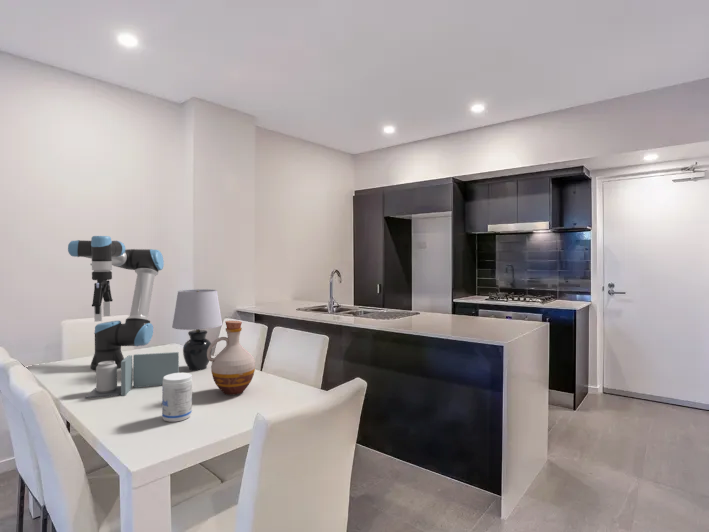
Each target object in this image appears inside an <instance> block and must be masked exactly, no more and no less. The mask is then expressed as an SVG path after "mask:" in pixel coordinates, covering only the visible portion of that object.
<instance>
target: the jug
mask: <svg viewBox="0 0 709 532" xmlns="http://www.w3.org/2000/svg"><path fill="white" fill-rule="evenodd" d="M242 323H243V321H241V320H225V326H226V328H225V332H226V336H227V337H226V336H221V337H218V338H216V339H214V340H213V341H212V342H211V344H210V346H209V348H208V350H207V358H208V360H209V362H211V364H210V365H211V367H210V371H211V375H212V379H213V381H214V384H215V385H216V387H217V388H218V389H219V390H220V391H221V392H222V393H223V394H224V395H226V396H237V395H240V394H242V393H244V391H245V390H247V388H248V387H249V385H250V384H251V382H252V380H253V377H254V374H255V370H256V360H255V357H254V356H253V355H252V354H251V353H250V352H249V351H248V350H246V348H244V347H243V345H242V344H241V343H240V337H241V331H242V330H243V329H242V328H243V327H242ZM221 341H225V343H226V345H225V346H224V347H223V349H222V350H221V351H220V352H218V353H217V354H216V355H215V357H212V355H210V354H211V349H212V350H213V348H214V346H215V345H216V344H217V343H219V342H221Z"/></svg>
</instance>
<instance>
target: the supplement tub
mask: <svg viewBox="0 0 709 532" xmlns="http://www.w3.org/2000/svg"><path fill="white" fill-rule="evenodd" d="M192 376H193V375H192V373H189V372H179V373H173V374H168V375H166V376H164V377H163V385H162V387H161V388H162V396H161V397H162V398H161V399H162V401H161V402H162V404H161V405H162V409H161V412H162V413H161V416H162V420H163V421H165V422H170V423H175V422H181V421H184V420H187V419H188V418H190V417H191V415H192V413H193V412H192V411H193V410H192V406H193V404H192V403H193V377H192Z"/></svg>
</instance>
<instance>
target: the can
mask: <svg viewBox="0 0 709 532" xmlns="http://www.w3.org/2000/svg"><path fill="white" fill-rule="evenodd" d="M95 380H96V381H95V383H96V384H95V388H96V391H98V392H99V393H108V392H112V391H114V390H115V389H116V388H117V386H118V368H117V364H115V361H104V362H100V363H98V366H97V367H96V370H95Z"/></svg>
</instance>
